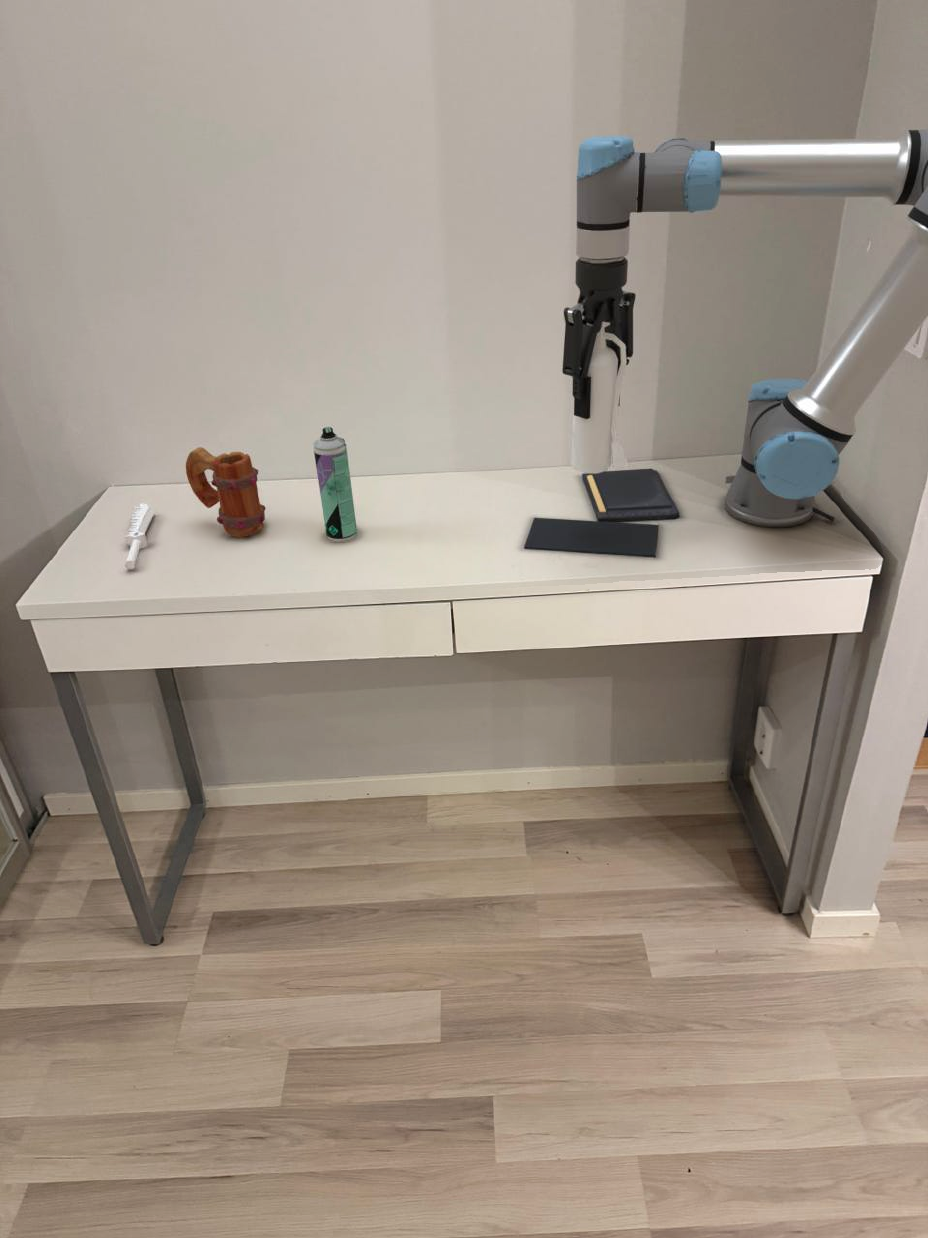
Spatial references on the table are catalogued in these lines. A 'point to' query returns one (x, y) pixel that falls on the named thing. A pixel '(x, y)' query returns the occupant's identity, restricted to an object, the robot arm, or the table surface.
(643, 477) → the wallet
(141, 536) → the toy saw sword
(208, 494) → the mug
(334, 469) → the spray can
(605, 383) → the fire extinguisher
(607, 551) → the mat
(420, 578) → the table surface
